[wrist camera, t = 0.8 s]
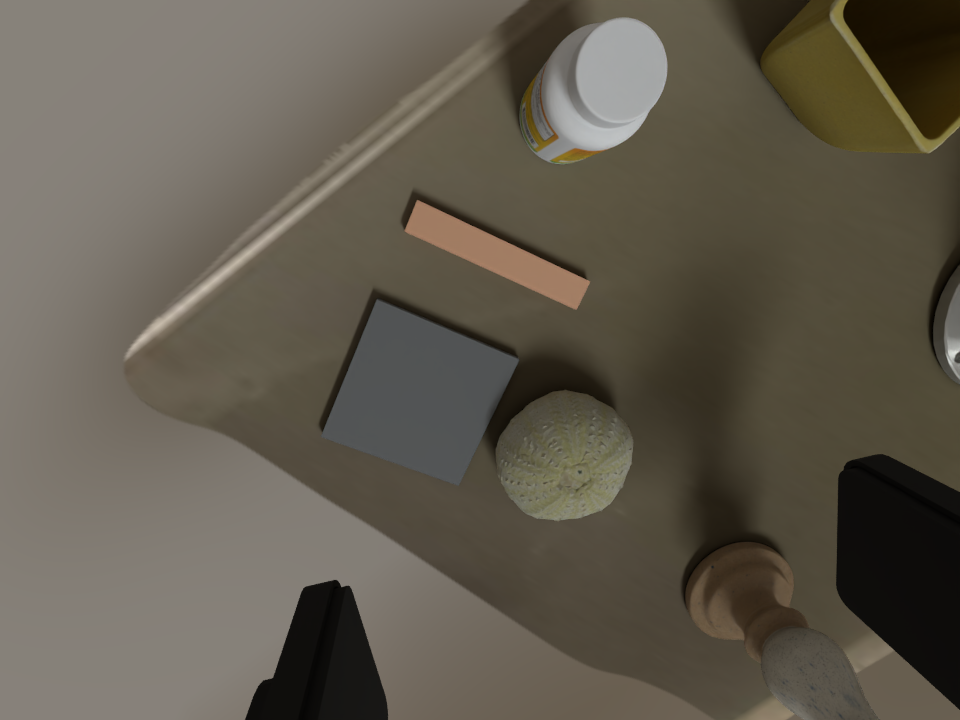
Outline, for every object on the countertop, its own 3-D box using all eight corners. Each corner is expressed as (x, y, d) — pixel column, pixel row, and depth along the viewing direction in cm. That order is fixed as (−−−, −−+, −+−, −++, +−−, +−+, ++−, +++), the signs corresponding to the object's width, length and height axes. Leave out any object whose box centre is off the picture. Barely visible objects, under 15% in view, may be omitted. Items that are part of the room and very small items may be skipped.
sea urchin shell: (462, 437, 33) (562, 435, 27) (523, 375, 38) (618, 364, 33) (517, 542, 36) (619, 561, 30) (567, 471, 41) (662, 476, 35)
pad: (517, 357, 34) (519, 359, 33) (458, 481, 36) (458, 485, 35) (377, 297, 32) (376, 299, 31) (322, 433, 34) (320, 436, 33)
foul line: (587, 280, 33) (590, 281, 32) (573, 308, 33) (576, 309, 33) (417, 200, 30) (417, 199, 30) (404, 231, 31) (404, 231, 30)
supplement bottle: (622, 100, 30) (710, 46, 21) (575, 182, 31) (638, 165, 22) (547, 47, 29) (605, -35, 20) (501, 134, 30) (534, 95, 21)
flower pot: (797, 174, 32) (931, 158, 24) (713, 70, 30) (828, 9, 22) (903, 65, 31) (1084, 5, 23) (824, -53, 29) (993, -167, 20)
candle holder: (679, 553, 39) (925, 876, 20) (785, 529, 40) (1127, 823, 20) (686, 640, 42) (912, 1004, 22) (786, 617, 42) (1091, 954, 23)
